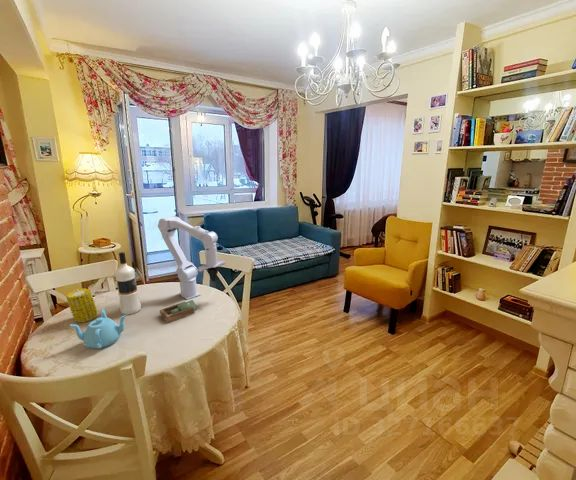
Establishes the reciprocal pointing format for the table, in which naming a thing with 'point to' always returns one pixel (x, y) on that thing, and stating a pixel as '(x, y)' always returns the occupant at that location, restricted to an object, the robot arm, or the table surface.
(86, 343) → the teapot
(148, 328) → the table surface
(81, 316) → the food
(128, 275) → the vodka
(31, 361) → the table surface
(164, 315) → the u rest
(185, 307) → the green bottle
